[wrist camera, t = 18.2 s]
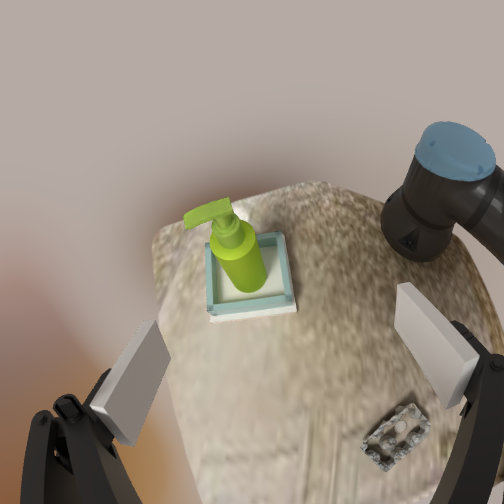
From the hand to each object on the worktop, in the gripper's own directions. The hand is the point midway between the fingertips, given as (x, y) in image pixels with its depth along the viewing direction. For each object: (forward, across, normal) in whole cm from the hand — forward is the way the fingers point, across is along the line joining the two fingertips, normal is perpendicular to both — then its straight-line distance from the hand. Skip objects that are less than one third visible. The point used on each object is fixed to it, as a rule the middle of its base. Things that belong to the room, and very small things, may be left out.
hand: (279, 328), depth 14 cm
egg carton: (+10, +15, -33) cm, 37 cm away
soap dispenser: (+31, -5, -10) cm, 33 cm away
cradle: (+31, -5, -11) cm, 33 cm away
